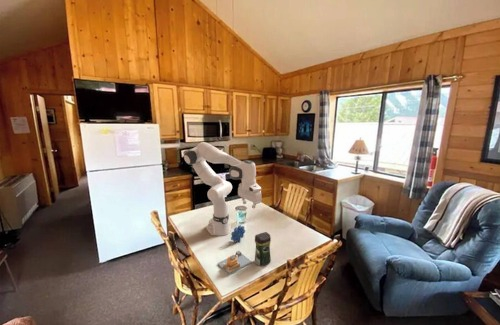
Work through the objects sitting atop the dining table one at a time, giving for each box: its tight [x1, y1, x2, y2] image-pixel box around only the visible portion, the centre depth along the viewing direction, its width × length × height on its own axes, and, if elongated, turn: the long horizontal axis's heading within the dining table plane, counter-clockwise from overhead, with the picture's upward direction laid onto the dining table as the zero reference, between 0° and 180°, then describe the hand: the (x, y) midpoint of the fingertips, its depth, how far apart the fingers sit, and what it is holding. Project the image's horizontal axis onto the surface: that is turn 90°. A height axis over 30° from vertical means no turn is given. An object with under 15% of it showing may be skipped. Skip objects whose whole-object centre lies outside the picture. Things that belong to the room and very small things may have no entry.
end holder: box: [223, 261, 240, 273], centre depth 124 cm, size 7×8×2 cm
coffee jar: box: [254, 231, 272, 267], centre depth 129 cm, size 10×8×19 cm
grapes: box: [230, 225, 246, 243], centre depth 153 cm, size 12×7×12 cm, turn 122°
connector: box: [226, 254, 237, 268], centre depth 124 cm, size 4×4×7 cm
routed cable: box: [232, 250, 242, 258], centre depth 131 cm, size 6×11×2 cm, turn 129°
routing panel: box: [217, 252, 253, 276], centre depth 129 cm, size 12×17×1 cm
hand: (249, 205), depth 138 cm, fingers open, 8 cm apart
